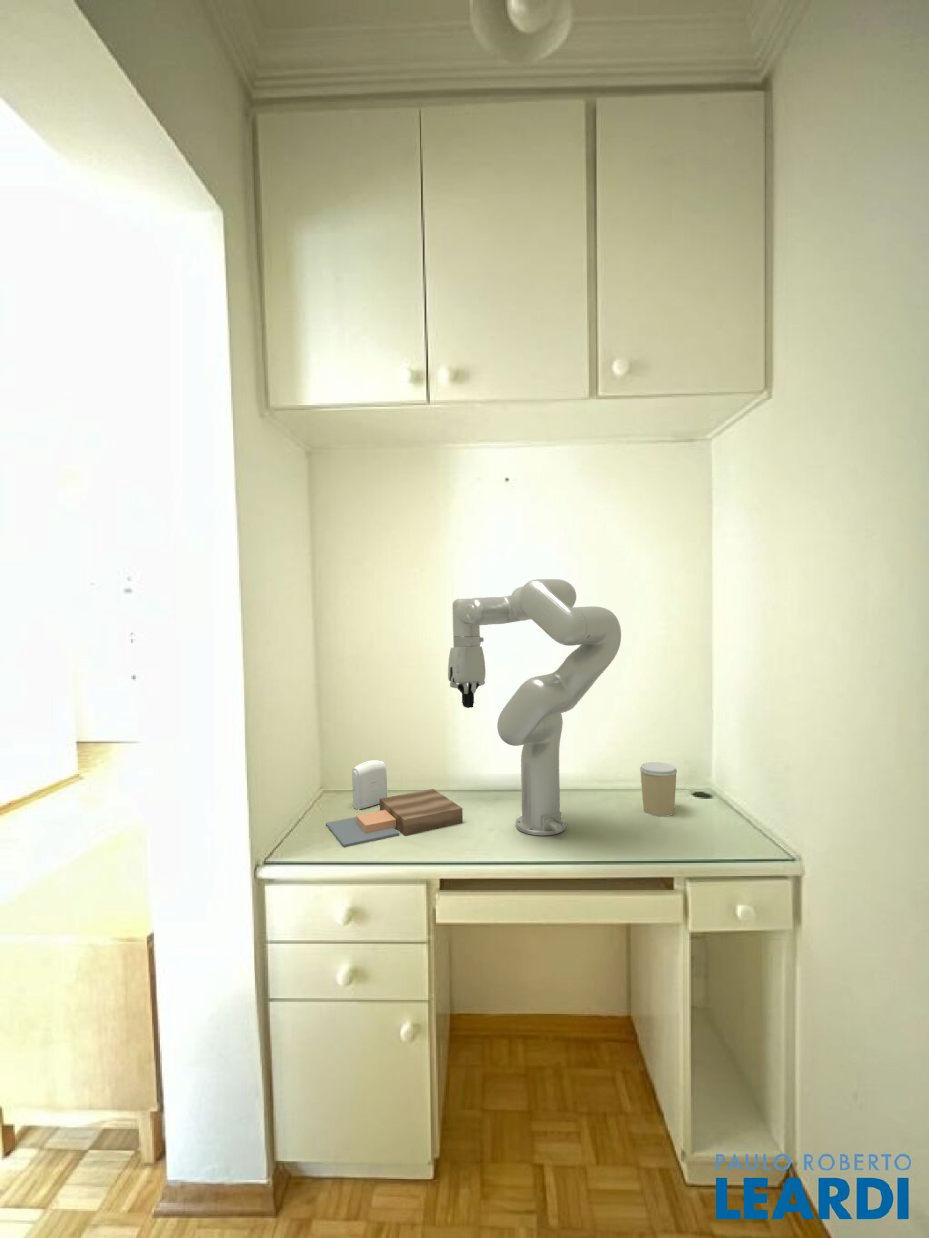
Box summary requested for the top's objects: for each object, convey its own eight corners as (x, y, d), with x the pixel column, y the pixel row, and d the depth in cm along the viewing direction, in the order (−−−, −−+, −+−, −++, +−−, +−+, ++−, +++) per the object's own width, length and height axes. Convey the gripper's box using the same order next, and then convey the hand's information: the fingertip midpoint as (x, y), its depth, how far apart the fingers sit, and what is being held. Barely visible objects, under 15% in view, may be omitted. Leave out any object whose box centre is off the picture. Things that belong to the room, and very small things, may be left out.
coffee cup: (684, 812, 160) (684, 767, 159) (662, 820, 154) (661, 773, 154) (655, 802, 167) (655, 759, 167) (633, 810, 162) (632, 765, 162)
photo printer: (359, 811, 166) (357, 766, 165) (350, 807, 169) (349, 763, 168) (389, 801, 173) (388, 759, 172) (380, 798, 176) (379, 756, 175)
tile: (396, 827, 152) (396, 819, 152) (365, 833, 148) (365, 825, 148) (385, 817, 159) (385, 809, 159) (356, 822, 155) (355, 815, 155)
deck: (462, 823, 155) (462, 807, 155) (404, 835, 148) (404, 819, 148) (433, 802, 171) (433, 788, 171) (379, 813, 164) (379, 798, 164)
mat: (399, 835, 148) (399, 832, 148) (343, 847, 142) (343, 844, 142) (377, 814, 162) (377, 812, 162) (325, 825, 156) (325, 822, 156)
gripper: (482, 640, 177) (484, 702, 178) (437, 643, 170) (438, 707, 171) (496, 641, 170) (497, 706, 171) (449, 644, 163) (450, 712, 164)
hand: (468, 706), depth 171 cm, fingers closed
